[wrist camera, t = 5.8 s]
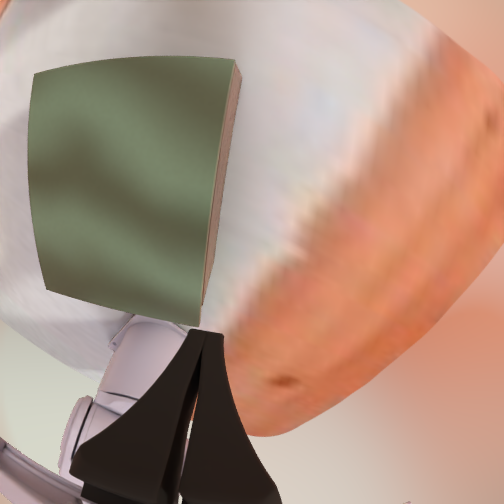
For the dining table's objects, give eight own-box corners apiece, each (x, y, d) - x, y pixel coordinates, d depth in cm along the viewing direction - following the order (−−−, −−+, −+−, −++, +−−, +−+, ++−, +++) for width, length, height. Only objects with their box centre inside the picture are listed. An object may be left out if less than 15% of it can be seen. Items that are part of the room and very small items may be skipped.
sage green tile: (200, 321, 16) (198, 327, 16) (50, 285, 16) (46, 289, 15) (235, 62, 10) (235, 59, 9) (40, 73, 9) (33, 73, 9)
